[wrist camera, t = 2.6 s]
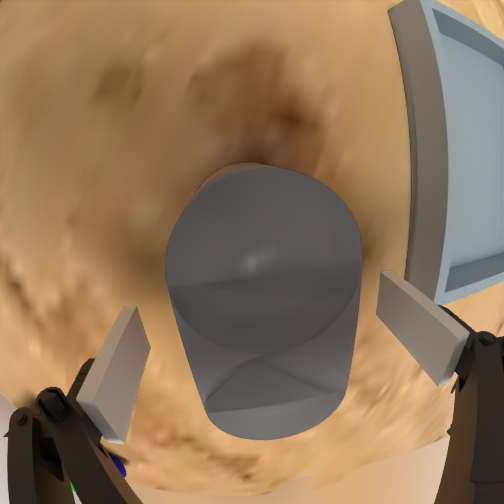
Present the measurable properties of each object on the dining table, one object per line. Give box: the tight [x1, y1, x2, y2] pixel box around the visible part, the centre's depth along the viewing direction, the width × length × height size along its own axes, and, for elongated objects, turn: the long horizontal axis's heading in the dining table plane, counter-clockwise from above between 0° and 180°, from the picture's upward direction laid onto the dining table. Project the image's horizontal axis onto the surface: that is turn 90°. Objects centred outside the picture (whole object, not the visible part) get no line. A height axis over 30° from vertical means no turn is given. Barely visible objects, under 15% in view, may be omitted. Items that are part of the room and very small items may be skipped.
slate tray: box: [388, 0, 504, 305], centre depth 15 cm, size 22×16×4 cm
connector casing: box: [165, 162, 363, 440], centre depth 15 cm, size 16×7×8 cm, turn 5°
